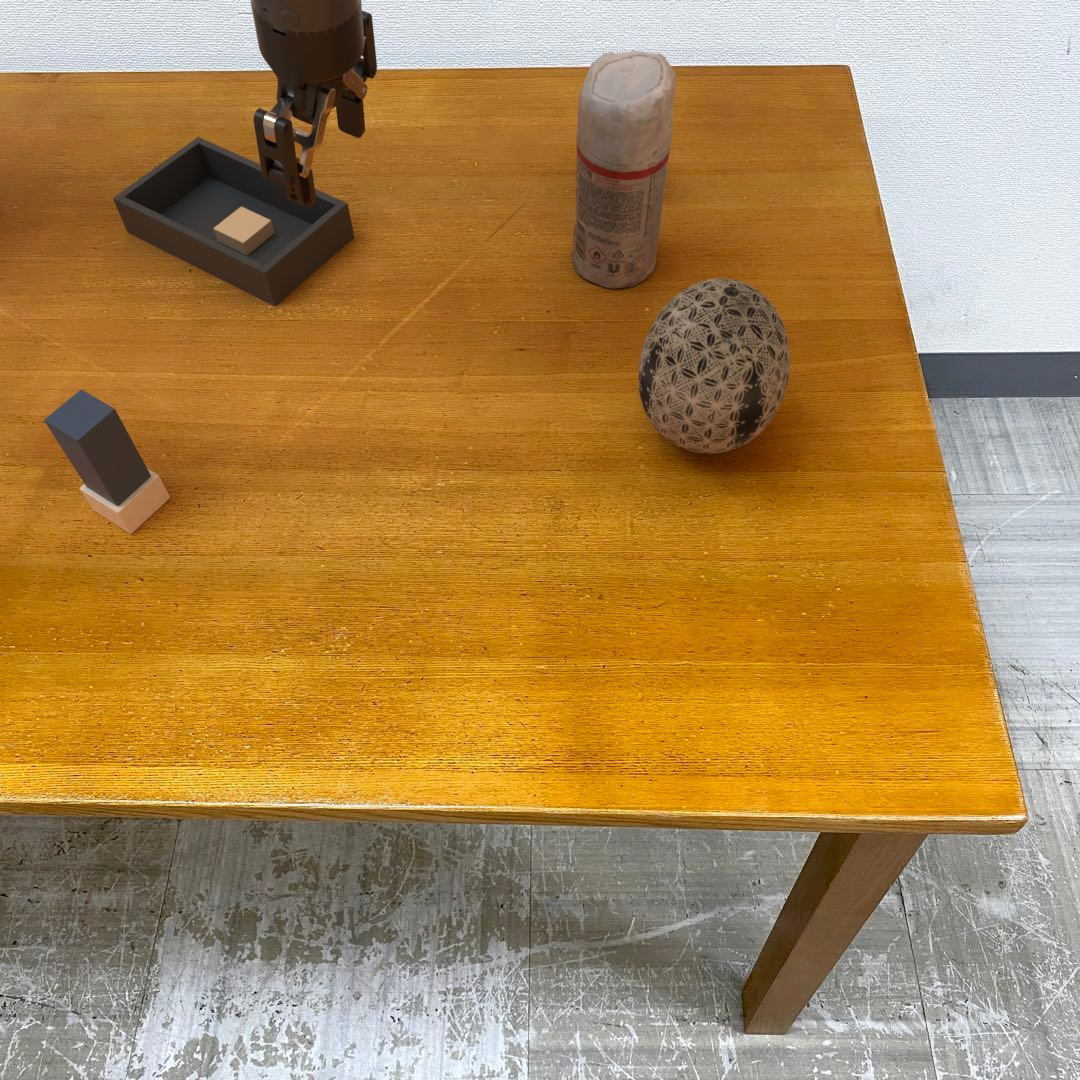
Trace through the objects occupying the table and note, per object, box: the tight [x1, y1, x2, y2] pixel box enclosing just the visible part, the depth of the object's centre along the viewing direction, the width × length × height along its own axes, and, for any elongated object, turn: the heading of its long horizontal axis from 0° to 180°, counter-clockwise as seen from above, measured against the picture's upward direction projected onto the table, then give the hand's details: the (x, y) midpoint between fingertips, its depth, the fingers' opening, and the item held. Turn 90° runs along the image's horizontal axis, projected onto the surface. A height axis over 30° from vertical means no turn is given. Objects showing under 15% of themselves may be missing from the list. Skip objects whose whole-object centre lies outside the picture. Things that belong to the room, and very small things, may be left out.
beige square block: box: [213, 206, 275, 255], centre depth 99 cm, size 4×4×2 cm
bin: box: [112, 136, 355, 307], centre depth 99 cm, size 20×12×5 cm, turn 56°
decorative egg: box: [637, 277, 791, 455], centre depth 80 cm, size 12×12×15 cm
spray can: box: [571, 49, 677, 289], centre depth 89 cm, size 8×8×20 cm
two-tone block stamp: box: [43, 389, 171, 535], centre depth 78 cm, size 4×4×11 cm
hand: (327, 166), depth 84 cm, fingers open, 8 cm apart
